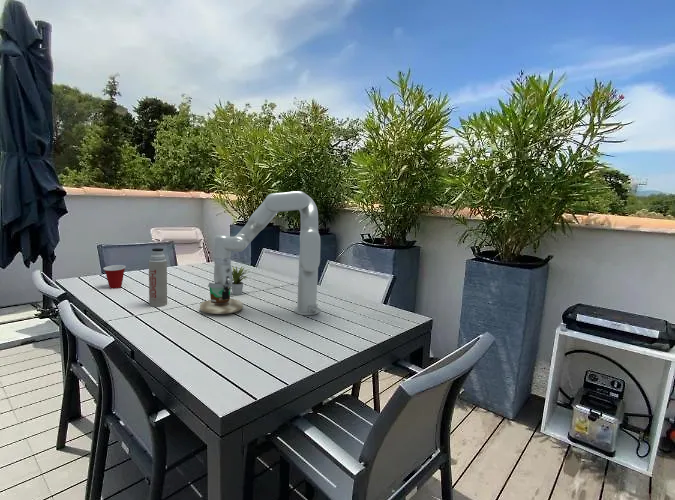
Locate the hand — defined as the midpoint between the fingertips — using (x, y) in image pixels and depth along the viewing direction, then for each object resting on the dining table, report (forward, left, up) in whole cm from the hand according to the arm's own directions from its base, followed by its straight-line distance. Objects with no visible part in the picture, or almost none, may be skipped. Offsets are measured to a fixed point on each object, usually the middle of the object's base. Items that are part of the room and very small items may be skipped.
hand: (222, 297), depth 175 cm
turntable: (0, 0, -6) cm, 6 cm away
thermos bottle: (+26, +20, -7) cm, 34 cm away
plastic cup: (+71, +27, -7) cm, 76 cm away
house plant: (+21, -21, -7) cm, 30 cm away
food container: (-1, 0, -2) cm, 2 cm away
